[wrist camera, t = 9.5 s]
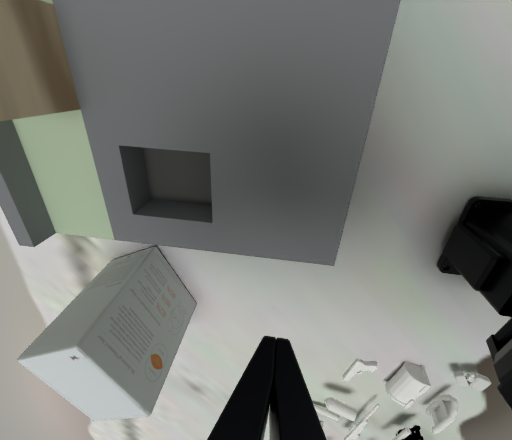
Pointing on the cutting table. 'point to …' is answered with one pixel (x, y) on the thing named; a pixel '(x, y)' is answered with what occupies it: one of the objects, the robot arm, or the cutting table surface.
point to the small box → (115, 338)
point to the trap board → (203, 125)
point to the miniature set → (404, 398)
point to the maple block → (33, 62)
